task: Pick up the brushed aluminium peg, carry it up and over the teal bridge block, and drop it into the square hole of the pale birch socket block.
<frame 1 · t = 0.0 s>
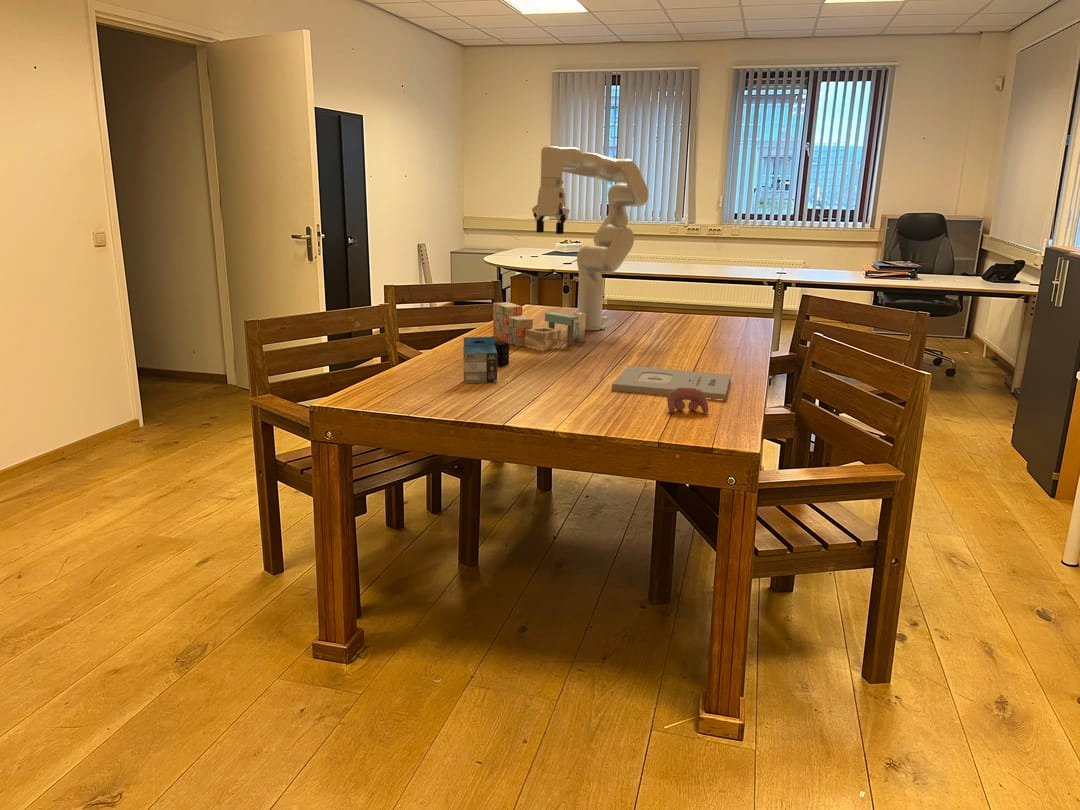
hand: (549, 233, 278), 37 cm above the table, tool pointing down, fingers open, 9 cm apart
award plaque: (672, 387, 218), on the table
stack of blocks: (511, 341, 276), on the table
socket: (542, 347, 264), on the table
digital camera: (489, 365, 237), on the table
video game controller: (686, 412, 192), on the table
peg: (578, 341, 277), on the table
label tape box: (480, 382, 215), on the table
teal bridge block: (560, 343, 273), on the table
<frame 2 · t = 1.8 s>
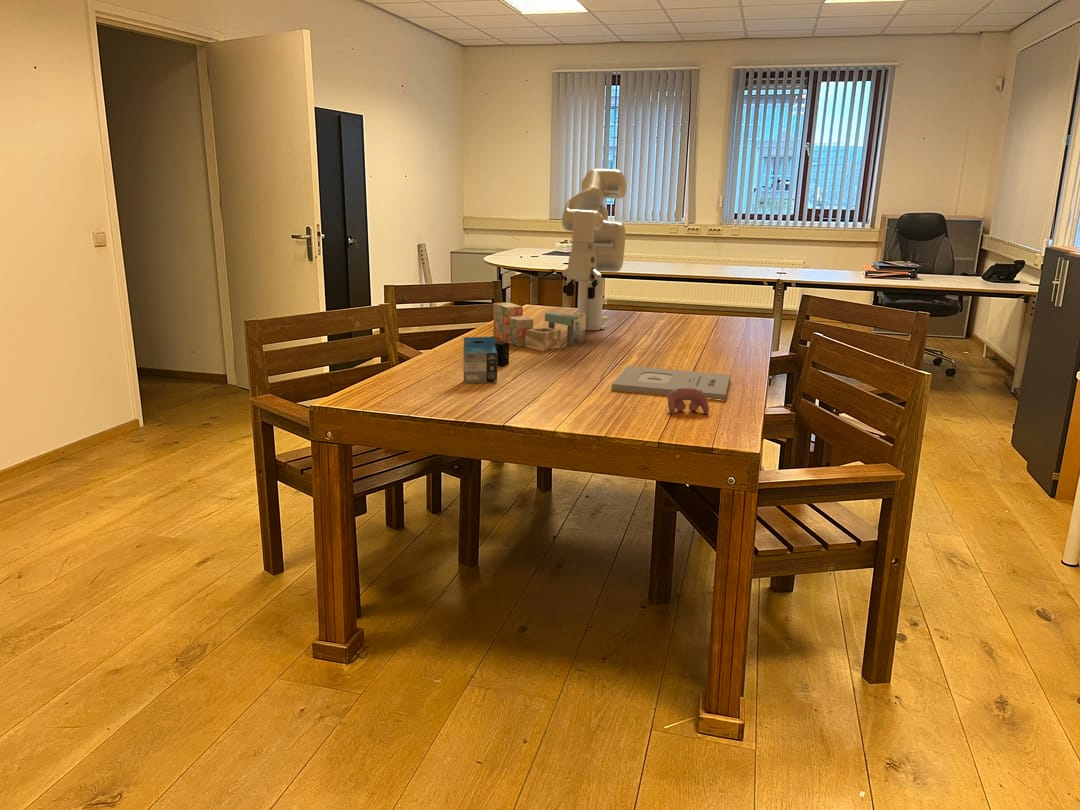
hand: (580, 297, 272), 16 cm above the table, tool pointing down, fingers open, 9 cm apart
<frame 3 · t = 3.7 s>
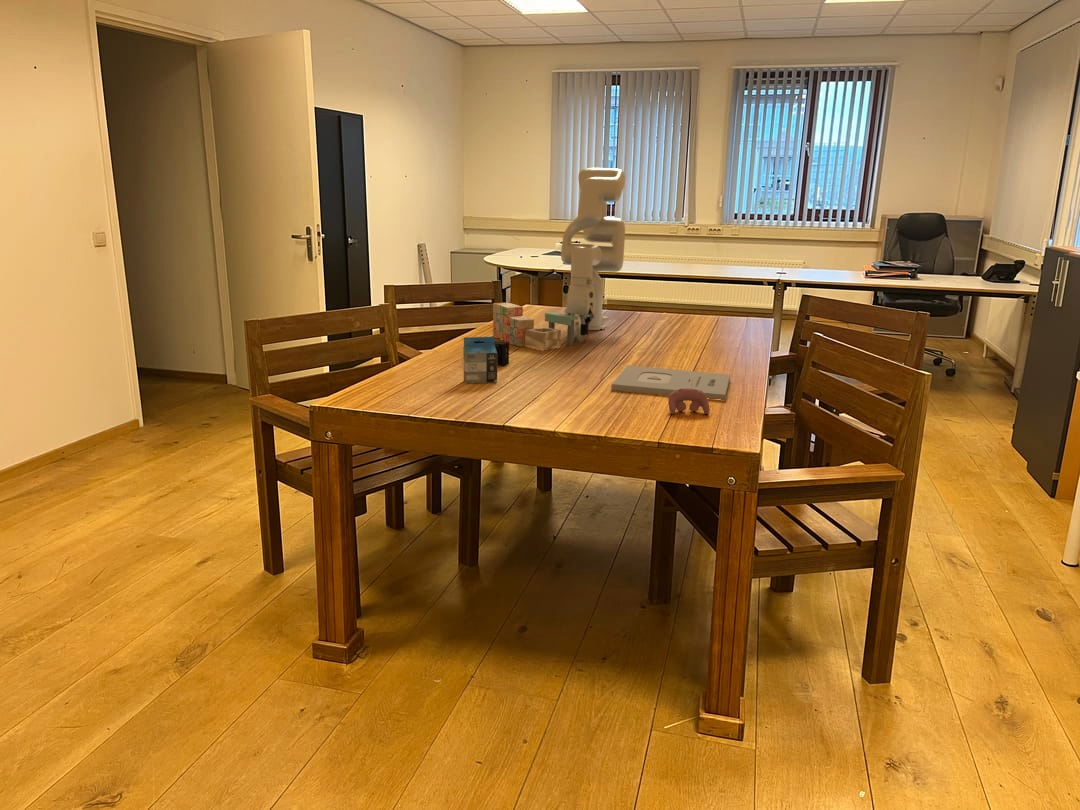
hand: (579, 333, 276), 3 cm above the table, tool pointing down, fingers closed on peg, 4 cm apart
peg: (578, 341, 277), on the table, touching gripper
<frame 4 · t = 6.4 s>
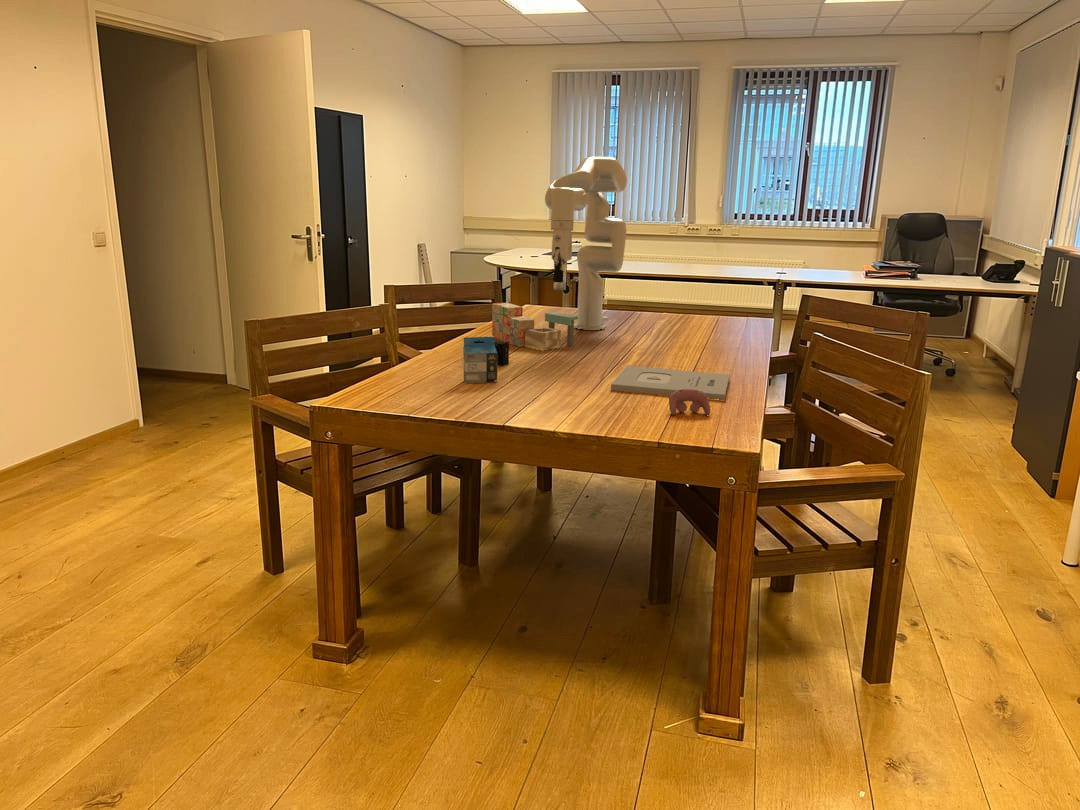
hand: (559, 281, 263), 22 cm above the table, tool pointing down, fingers closed on peg, 4 cm apart
peg: (559, 289, 264), point 19 cm above the table, touching gripper
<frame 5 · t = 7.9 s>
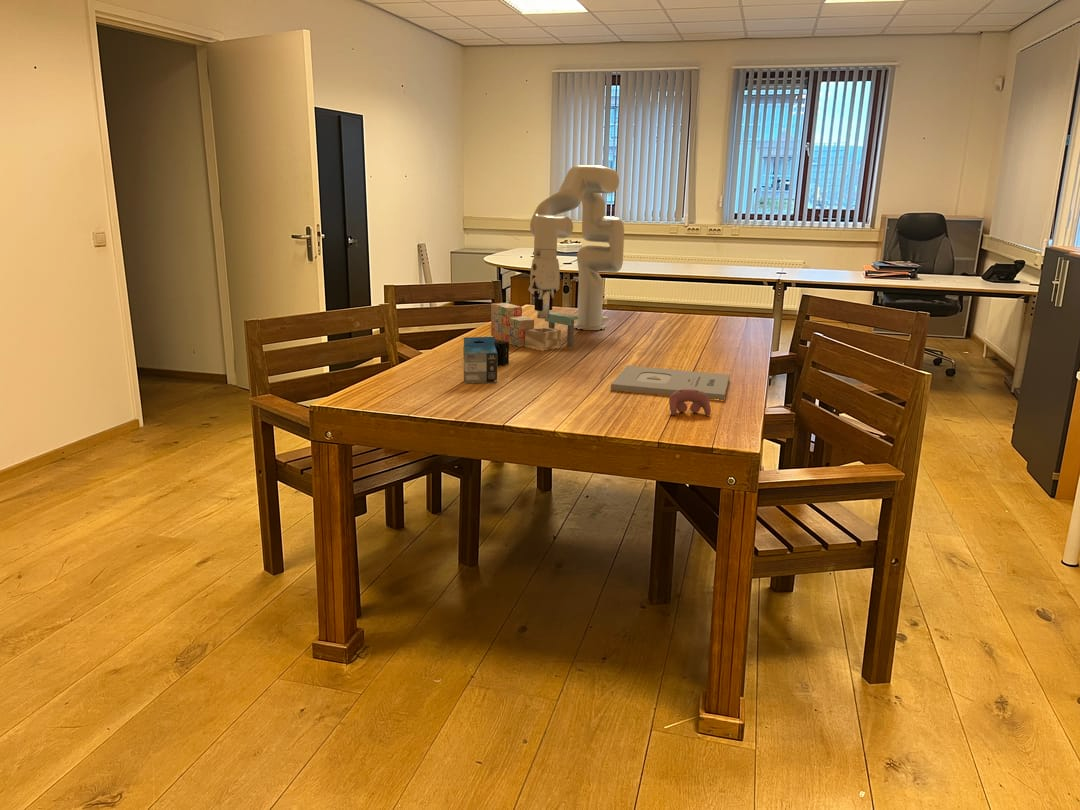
hand: (543, 309, 261), 13 cm above the table, tool pointing down, fingers closed on peg, 4 cm apart
peg: (543, 317, 261), point 10 cm above the table, touching gripper
when the fingers open (7 cm above the table, at t = 9.2 s): peg drops 3 cm, point 1 cm above the table.
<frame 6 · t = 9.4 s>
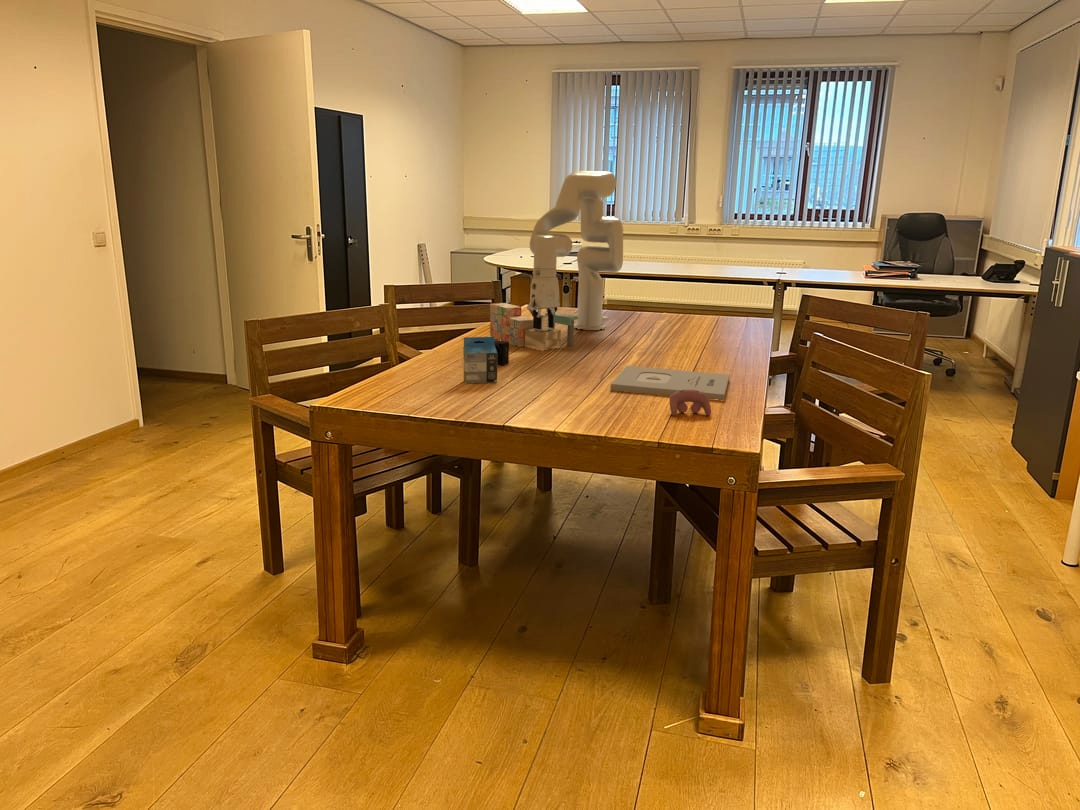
hand: (543, 327, 263), 7 cm above the table, tool pointing down, fingers open, 5 cm apart
peg: (542, 344, 264), point 1 cm above the table, touching gripper
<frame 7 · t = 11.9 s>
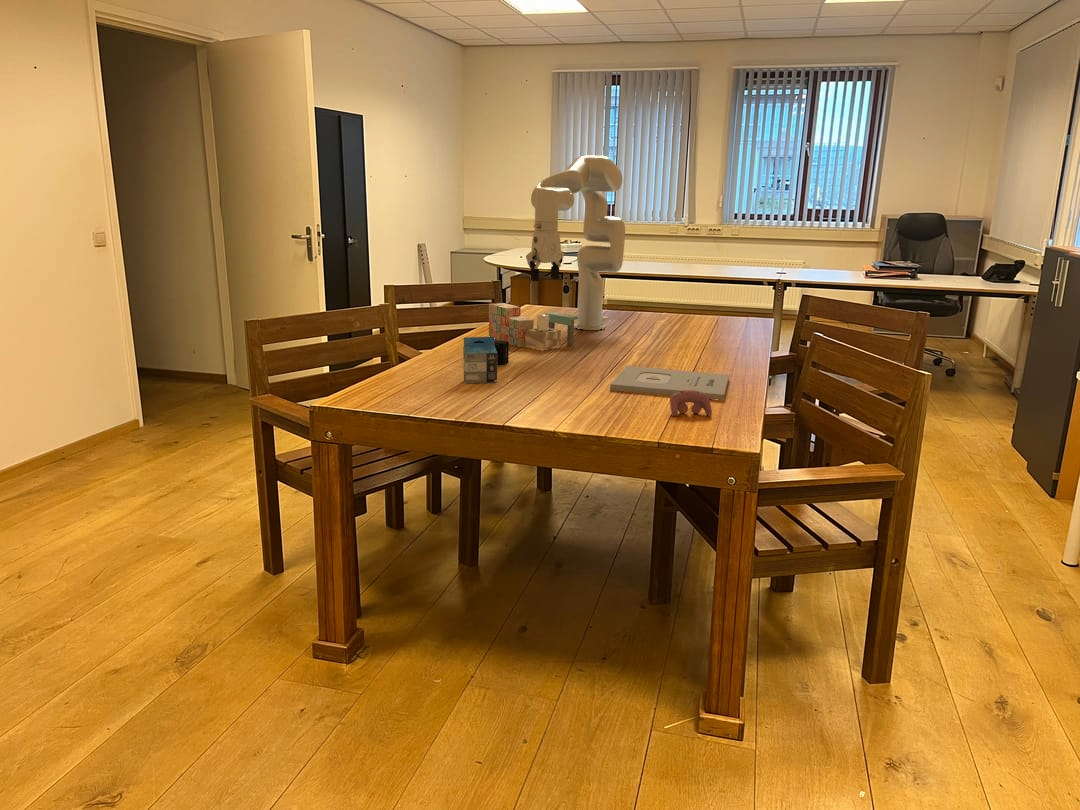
hand: (544, 279, 260), 23 cm above the table, tool pointing down, fingers open, 9 cm apart
peg: (542, 344, 264), point 1 cm above the table, touching socket
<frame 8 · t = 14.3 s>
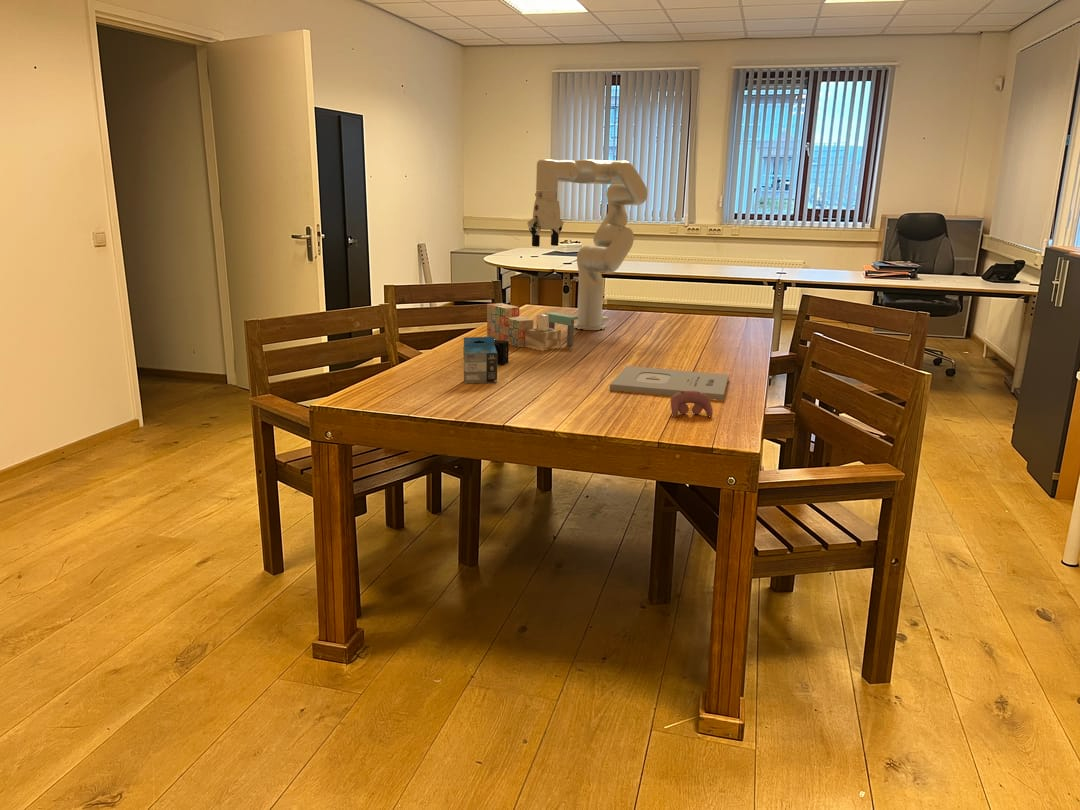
hand: (545, 246, 278), 32 cm above the table, tool pointing down, fingers open, 9 cm apart
at the end: peg 0.1 cm from the socket (horizontally); peg point 1.1 cm above the table; peg tilted 2° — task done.
